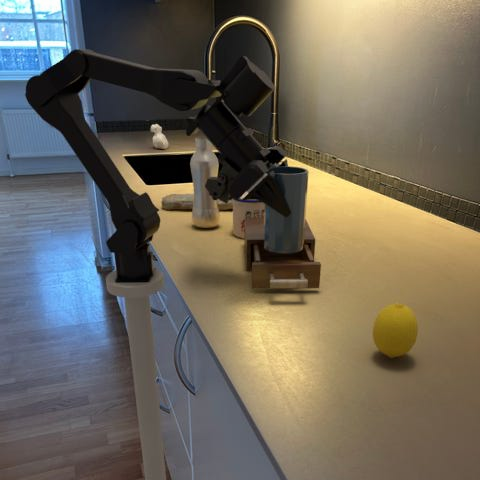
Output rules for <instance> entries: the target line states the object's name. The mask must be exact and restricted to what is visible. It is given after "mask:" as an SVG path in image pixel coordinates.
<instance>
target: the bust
mask: <svg viewBox="0 0 480 480" xmlns="http://www.w3.org/2000/svg"><path fill="white" fill-rule="evenodd" d="M150 132H151V133H154V134H153V137H152V145H153V147H154V148H155V149H158V150H159V149H160V150H167V149H168V148H169V141H168V139H167V137H166V136H165V134H163V133H162V132H163V127H162V126H160V124H158V123H155V124H152V125H150Z"/></svg>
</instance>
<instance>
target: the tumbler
mask: <svg viewBox="0 0 480 480" xmlns="http://www.w3.org/2000/svg"><path fill="white" fill-rule="evenodd" d="M272 171H274V173H275V176H276V178H277V180H278V183H279V185H280V187H281V189H282V192H283V194H284V196H285V198H286V201H287V203H288V205H289V208H290V210H291V214H290V215H289V216H288V217H285V216H283V215H282V214H280V213H278V212H277V211H275V210H274V209H272V208H271V207H269V206H268V205H266V204H265V211H264V248H265V249H266V250H268V251H271V252H275V253H295V252H299V251H301V250H302V249H303V245H304V232H305V219H306V217H307V216H306V214H307V203H308V202H307V201H308V200H307V199H308V187H309V186H308V185H309V170H308V169H307V168H304V167H300V166H289V165H288V166H278V167H271V168H268V172H267V174H269V173H270V172H272Z"/></svg>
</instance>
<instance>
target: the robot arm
mask: <svg viewBox="0 0 480 480" xmlns="http://www.w3.org/2000/svg"><path fill="white" fill-rule="evenodd" d="M234 63H235V64H234V65H233V67H232V68H231V69H230V70H229V71H228V73H227V74H226V75H225V76H224V77H223V79H222V80H221V79H220V80H219V79H217V80H213V79H208V78H207V76H206V74H204V73H203V72H202V71H200V70H198V69H197V70H196V69H180V68H157V67H153V66H148V65H144V64H141V63H137V62H133V61H129V60H125V59H121V58H118V57H113V56H109V55H106V54H102V53H98V52H95V51H94V50H92V49H79V48H76V49H75V48H74V49H73V50H70V52H69V53H67V55H65V56H64V57H63V58H62V59H60V60H59V61H57V62H56V63H54V64H53V65H51V66H49V67H48V68H46V69H45V70H43V71H42V72H41V73H40V74H37V75H32V76H31V77H29V79H28V80H27V81H26V85H25V93H24V96H25V99H26V101H27V104H28V105H29V106H30V107H31V108H32V110H33V111H34V112H35V113H36V114H37V115H38V116H39V117H40V119H42V121H44V122H45V123H46V124H48V125H49V126H51V127H52V128H54V129H55V130H56V131H58V132H59V133H60V134H61V136H62V137H63V138H64V140H65V141H66V143H67V144H68V146H69V147H70V148H71V150H72V151H73V153H74V154H75V156H76V157H77V159H78V160H79V162H80V163H81V165H82V166H83V168H84V169H85V171H86V173H88V175H89V177H90V178H91V180H92V181H93V183H94V184H95V185H96V187H97V188H98V190H99V192H100V193H101V194H102V195H103V197H104V199H105V200H106V202H107V203H108V207H109V213H110V219H111V222H112V224H113V226H114V228H115V231H114V232H113V233H112V235H110V237H109V238H108V239H107V240H106V241H105V244H106V246H107V249H108V250H109V252H110V253H111V254H114V262H115V270H116V272H117V277H116V279H115V282H116V283H135V282H149V281H150V279H151V276H153V274H154V268H155V261H154V260H155V259H154V252H153V251H152V250H151V247H150V246H151V245H150V242H152V241H153V239H154V238H153V237H154V235H155V234H156V233H157V232H158V231H159V229H160V227H161V222H162V221H161V217H160V214H159V213H158V212H160V209H159V208H158V207H157V206H156V205H155V204H154V202H153V200H152V198H151V197H150V196H151V195H149V194H148V192H146V191H145V192H143V193H141V194H138V193H137V192H136V191H134V190H133V189H132V188H131V186H130V185H129V183H128V182H127V181H126V178H124V176H123V175H122V173H121V171H120V170H119V168H118V167H117V166H116V164H115V163H114V161H113V160H112V158H111V156H110V155H109V154H108V152H107V150H106V149H105V147H104V145H103V144H102V143H101V142H100V140H99V139H98V137H97V135H96V133H95V132H94V130H93V129H92V128H91V126H90V124H89V123H88V122H87V119H86V118H85V113H84V108H83V102H82V99H81V97H80V95H79V94H80V93H81V92H82V91H84V90H85V89H86V88H87V86H88V84H89V82H90V81H91V80H95V81H99V82H103V83H107V84H111V85H114V86H118V87H122V88H125V89H128V90H129V89H130V90H132V91H137V92H141V93H145V94H146V95H149V96H150V97H153V99H155V100H157V101H158V102H160V103H161V104H164V105H166V106H168V107H170V108H172V109H174V110H176V111H179V112H187V111H192V110H195V109H199V108H201V109H200V110H199V111H198V112H197V114H196V115H195V116H189V117H186V118H185V123H186V127H185V135H186V136H187V137H191V136H193V135H195V134H197V133H199V131H200V133H201V134H202V136H203V137H206V138H207V139H208V140H209V142H210V143H211V144H212V147H214V148H215V150H216V151H217V152H218V153H219V154H218V156H217V159H218V162H219V164H221V165H222V167H221V169H220V171H219V172H218V175H217V177H210V178H209V179H208V180H207V182H206V184H205V188H206V189H207V190H208V192H209V195H210V196H212V199H213V200H217V199H219V200H221V201H223V202H224V203H226V204H227V203H228V201H229V200H232V199H233V198H234V199H235V201H237V200H238V199H239V198H240V197H241V196H243V194H244V193H245V192H246V191H247V192H248V194H247V195H246V196H245V197H244V198H243V200H249V199H256V200H259V201H261V202H263V203H264V204H266V205H268V206H269V207H271V208H272V209H274V210H275V211H277V212H278V213H280V214H282V215H283V216H285V217H288V216H289V215H290V214H291V210H290V208H289V205H288V203H287V201H286V198H285V196H284V194H283V192H282V189H281V187H280V185H279V183H278V180H277V178H276V176H275V173H274V171H272V172H270V173H269V174H267V172H268V168H271V167H278V166H289V164H288V160H287V158H286V157H287V156H288V153H287V152H286V151H285V150H284V148H283V147H282V146H278V145H277V146H276V145H274V146H272V147H270V148H268V147H265V148H264V147H263V146H262V144H260V142H259V141H258V140H256V138H255V137H254V136H253V134H254V133H255V132H254V131H253V130H252V128H251V127H248V128H247V127H246V126H244V124H243V123H242V122H241V121H240V120H239V118H238V117H241V116H243V115H244V116H247V117H251V115H252V114H253V113H255V111H256V110H257V109H258V108H259V107H260V106H261V105H262V103H264V102H265V100H266V99H267V98H268V97H269V96H270V95H271V94H272V93H273V92H274V91H275V90H276V86H275V85H274V83H273V82H272V79H271V78H270V77H269V76H268V75H267V73H266V72H265V71H264V70H261V69H260V68H259V67H258V66H257V65H256V64H255V63H253V61H251V60H250V59H249V58H248V57H247V56H245V55H244V56H243V55H240V57H238V59H237V60H236V62H234ZM213 98H218V99H216V100H215V102H214V103H213V104H211V105H208V104H207V102H209V100H210V99H213ZM285 158H286V159H285Z"/></svg>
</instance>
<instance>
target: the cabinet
mask: <svg viewBox="0 0 480 480" xmlns="http://www.w3.org/2000/svg"><path fill="white" fill-rule="evenodd" d="M243 240H244V257H245V258H244V259H245V267H246V271H247V272H248V271H249V272H250V271H251V272H252V262H253V244H264V217H253V218H245V227H244V238H243ZM304 243H307V244H308V246H309V249H310V251H311V254H312V256H313V258H314V259H315V251H316V237H315V235H314V233H313V231H312V229H311V227H310V225H309V222H308V221H307V219H306V218H305V232H304Z"/></svg>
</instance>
